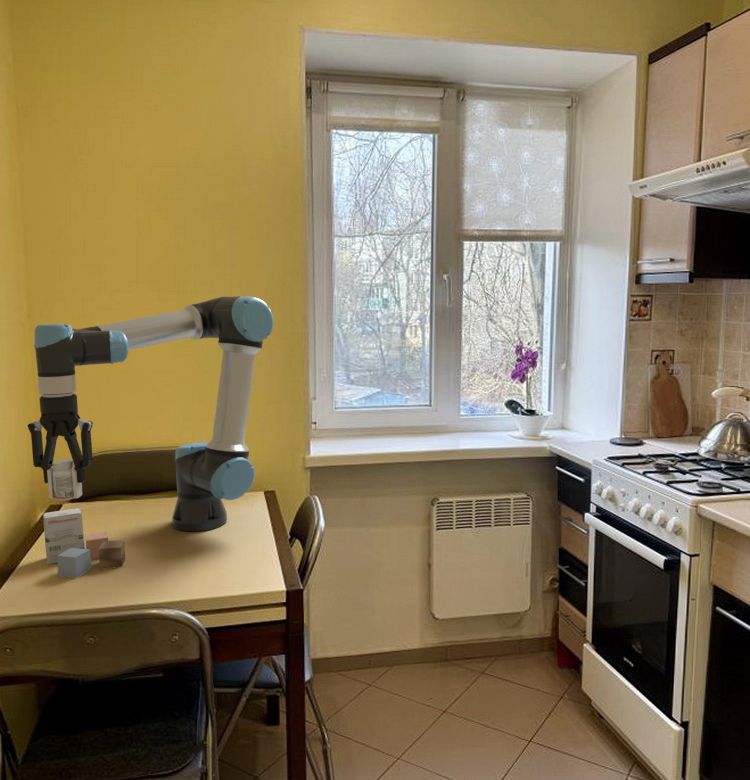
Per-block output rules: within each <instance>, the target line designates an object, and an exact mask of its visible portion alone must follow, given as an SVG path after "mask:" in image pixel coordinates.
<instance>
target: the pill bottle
mask: <svg viewBox="0 0 750 780" xmlns="http://www.w3.org/2000/svg"><path fill="white" fill-rule="evenodd" d="M52 465H53V467H54V469H55V470H54V471H53V486H54V499H55V500H56V501H70V500H73V499H75V498H74V492H73V479H72V470H73V469H74V468H75V467H74V462H73V459H67V458H65V459H59V460H55V461H53V464H52Z"/></svg>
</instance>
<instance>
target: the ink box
mask: <svg viewBox="0 0 750 780" xmlns="http://www.w3.org/2000/svg"><path fill="white" fill-rule="evenodd" d="M42 515H43V518H42V519H43V529H44V533H43V534H44V544H45V554H46V564H48V565H50V564H54V563H58V561H57V555H59V554H61V553H63V552H65V551H67V550H69V549H71V548H79V549H86V546H85V537H84V527H83V526H84V525H83V523H84V522H83V512H82V510H81V508H80V507H76V508H70V509H62V510H57V511H55V510H54V511H50V512H43V514H42Z"/></svg>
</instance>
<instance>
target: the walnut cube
mask: <svg viewBox="0 0 750 780" xmlns="http://www.w3.org/2000/svg"><path fill="white" fill-rule="evenodd" d="M125 547H126V545H125V539H119V540H118V539H117V540H116V539H115V540H108V541H103V542H102V544H101V546H100V547H99V558H98V559H99V569H100V570H101V569H111V568H113V567H115V568H123V565H124V564H125V561H126V548H125ZM123 563H124V564H123ZM113 569H114V568H113Z"/></svg>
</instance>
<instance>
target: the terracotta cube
mask: <svg viewBox="0 0 750 780" xmlns="http://www.w3.org/2000/svg"><path fill="white" fill-rule="evenodd" d="M84 538H85V549H89V550H90V558H91V560H95V559H99V547H100V546H101V544H102V542H103V541H109V536H108V531H107V530H105V531H98V532H92V533H85V537H84Z"/></svg>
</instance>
